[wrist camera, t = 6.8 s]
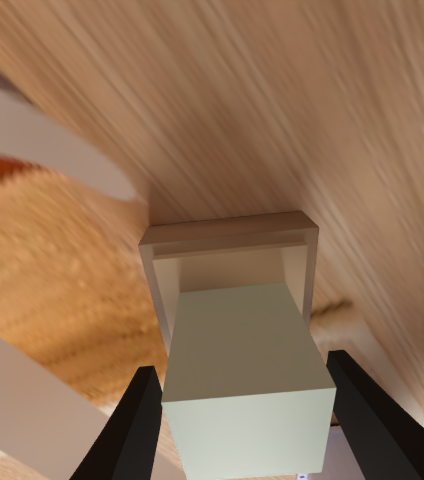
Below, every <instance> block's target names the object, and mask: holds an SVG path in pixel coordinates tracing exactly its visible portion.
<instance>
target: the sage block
mask: <svg viewBox="0 0 424 480" xmlns="http://www.w3.org/2000/svg"><path fill="white" fill-rule="evenodd" d="M335 394H336V386H335V384H334V382H333V379H332V377H331V375H330V373H329V371H328V369H327V367H326V365H325V363H324V361H323V359H322V357H321V355H320V353H319V351H318V348H317V346H316V344H315V342H314V340H313V338H312V336H311V334H310V332H309V330H308V328H307V326H306V324H305V322H304V319H303V317H302V315H301V313H300V311H299V309H298V307H297V305H296V303H295V301H294V299H293V297H292V295H291V293H290V291H289V288H288V286H287V284H286V282H282V283H272V284H262V285H252V286H242V287H232V288H222V289H213V290H203V291H193V292H183V293H179V298H178V304H177V310H176V316H175V322H174V328H173V334H172V340H171V346H170V352H169V358H168V364H167V370H166V376H165V382H164V388H163V394H162V400H161V404H162V407H163V410H164V413H165V416H166V419H167V422H168V425H169V428H170V431H171V433H172V436H173V439H174V442H175V445H176V448H177V451H178V454H179V457H180V460H181V463H182V466H183V469H184V472H185V474H186V477H187V480H223V479H237V478H250V477H264V476H278V475H292V474H305V473H319V472H322V467H323V461H324V456H325V450H326V445H327V439H328V433H329V428H330V422H331V416H332V411H333V405H334V399H335Z"/></svg>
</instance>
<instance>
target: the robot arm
mask: <svg viewBox="0 0 424 480" xmlns="http://www.w3.org/2000/svg"><path fill="white" fill-rule="evenodd" d="M326 367H327V369H328V371H329V373H330V375H331V377H332V379H333V382H334V384H335V386H336V394H335V399H334V405H333V411H334V413H335V416H336V418H337V420H338V422H339V424H340V426H330V428H329V433H328V439H327V445H326V450H325V456H324V461H323V467H322V472H319V473H305V474H296V480H424V428H423V427H422V426H421V425H420V424H419V423H418V422H417V421H416V420H414V419H413V418H412V417H411V416H410V415H409V414H408V413H407V412H406V411H405V410H404V409H403V408H402V407H401V406H400V405H399V404H398V403H396V402H395V401H394V400H393V399H392V398H391V397H390V396H389V395H388V394H387V393H386V392H385V391H384V390H383V389H382V388H381V387H380V386H379V385H378V384H377V383H376V382H375V381H374V380H373V379H372V378H371V377H370V376H369V375H368V374H367V373H366V372H365V371H364V370H363V369H362V368H361V367H360V366H359V365H358V364H357V362H356V361H355V360H354V359H353V358H352V357H351V356H350V355H349V354H348V353H347V352H346V351H345V350H336V351H329V353H328V359H327V365H326ZM162 394H163V393H162V390H161V386H160V383H159V380H158V377H157V373H156V370H155V367H154V366H144V367H139V368H138V369H137V371H136V373H135V375H134V377H133V379H132V380H131V382H130V384H129V386H128V388H127V390H126V391H125V393H124V395H123V397H122V398H121V400H120V402H119V404H118V405H117V407H116V409H115V410H114V412H113V414H112V415H111V417H110V419H109V420H108V422H107V424H106V425H105V427H104V429H103V430H102V432H101V433H100V435H99V436H98V438H97V439H96V441H95V442H94V444H93V445H92V447H91V448H90V450H89V452H88V453H87V455H86V456H85V458H84V459H83V461H82V462H81V463H80V465H79V467H78V468H77V469H76V471H75V472H74V474H73V475H72V476H71V478H70V479H69V480H150V478H151V473H152V468H153V463H154V457H155V452H156V447H157V442H158V437H159V431H160V426H161V417H162V404H161V400H162Z"/></svg>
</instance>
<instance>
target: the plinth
mask: <svg viewBox="0 0 424 480" xmlns="http://www.w3.org/2000/svg"><path fill="white" fill-rule="evenodd" d="M318 234H319V227H318V226H317V225H316V224H315V223H314V222H313V221H312V220H311V219H310V218H309V217H308V216H307V215H306V214H305V213H304V212H302V211H294V212H284V213H274V214H264V215H254V216H245V217H235V218H225V219H215V220H205V221H195V222H185V223H176V224H166V225H156V226H149V227H148V229H147V230H146V232H145V234H144V236H143V237H142V239H141V241H140V243H139V244H138V247H139V251H140V255H141V258H142V262H143V266H144V270H145V273H146V277H147V281H148V285H149V288H150V292H151V296H152V300H153V304H154V307H155V311H156V315H157V319H158V322H159V326H160V330H161V334H162V337H163V341H164V345H165V349H166V352H167V356H168V358H169V352H170V346H171V340H172V334H173V328H174V322H175V316H176V310H177V304H178V298H179V293H183V292H193V291H203V290H213V289H222V288H232V287H242V286H252V285H262V284H272V283H282V282H286V284H287V286H288V288H289V291H290V293H291V295H292V297H293V299H294V301H295V303H296V305H297V307H298V309H299V311H300V313H301V315H302V317H303V319H304V322H305V324H306V326H307V328H308V330H309V325H310V315H311V305H312V295H313V285H314V275H315V265H316V254H317V244H318Z"/></svg>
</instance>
